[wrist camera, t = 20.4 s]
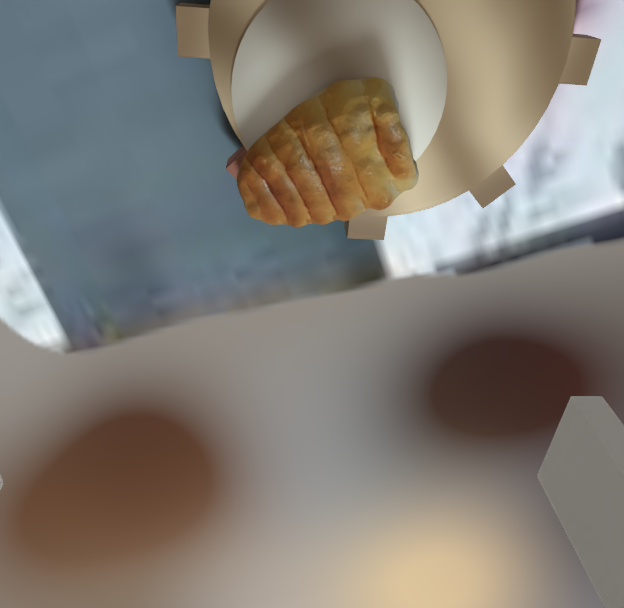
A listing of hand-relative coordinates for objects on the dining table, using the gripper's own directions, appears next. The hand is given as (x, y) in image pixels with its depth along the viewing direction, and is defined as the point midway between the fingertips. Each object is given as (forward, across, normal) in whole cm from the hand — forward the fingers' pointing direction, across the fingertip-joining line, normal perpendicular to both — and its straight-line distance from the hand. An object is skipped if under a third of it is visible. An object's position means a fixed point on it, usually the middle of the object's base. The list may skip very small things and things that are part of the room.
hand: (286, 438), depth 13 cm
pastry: (+21, +4, 0) cm, 21 cm away
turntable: (+23, +6, +5) cm, 24 cm away
